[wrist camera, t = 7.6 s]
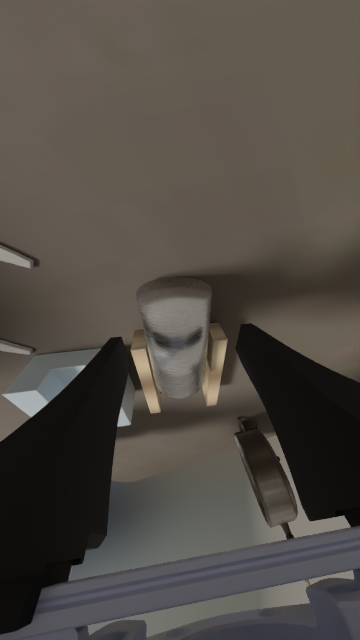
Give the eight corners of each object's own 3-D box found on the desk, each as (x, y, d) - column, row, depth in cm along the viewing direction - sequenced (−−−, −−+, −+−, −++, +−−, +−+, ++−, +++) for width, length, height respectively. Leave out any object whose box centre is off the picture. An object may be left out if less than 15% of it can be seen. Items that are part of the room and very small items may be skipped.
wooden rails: (211, 386, 22) (216, 404, 20) (151, 394, 21) (150, 413, 19) (218, 322, 16) (227, 339, 13) (134, 331, 15) (130, 350, 13)
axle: (200, 353, 18) (210, 395, 14) (155, 356, 18) (152, 400, 14) (204, 274, 13) (221, 306, 9) (141, 278, 12) (128, 312, 8)
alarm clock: (229, 416, 28) (292, 601, 15) (259, 409, 28) (351, 591, 14) (233, 437, 34) (280, 580, 21) (258, 432, 34) (321, 574, 21)
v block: (135, 390, 20) (130, 425, 17) (71, 398, 20) (54, 435, 17) (118, 346, 16) (108, 381, 13) (35, 355, 15) (1, 394, 12)
